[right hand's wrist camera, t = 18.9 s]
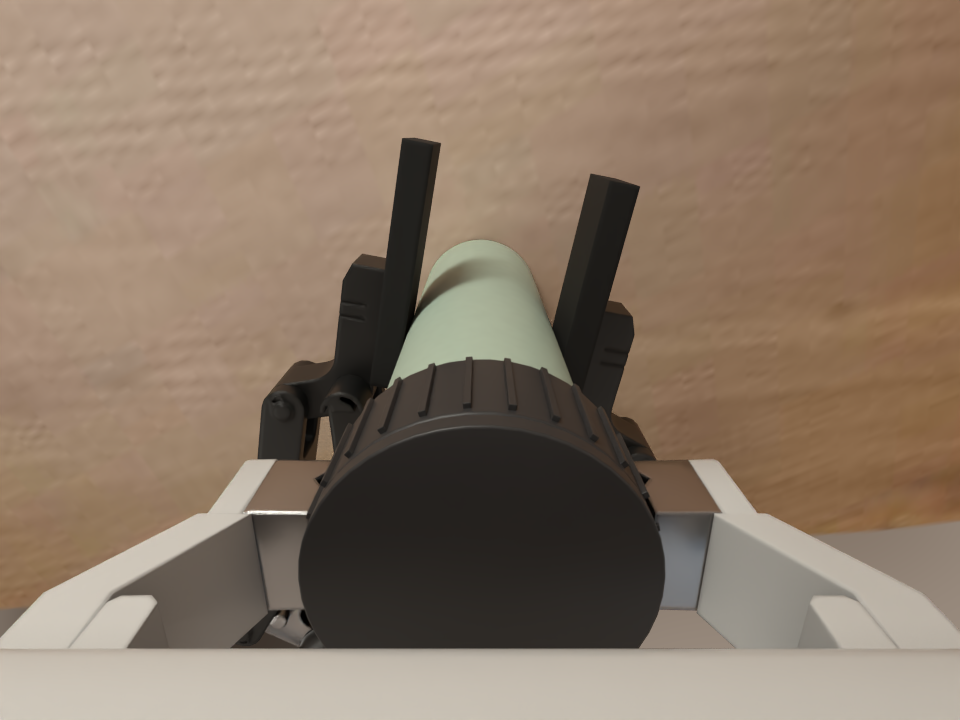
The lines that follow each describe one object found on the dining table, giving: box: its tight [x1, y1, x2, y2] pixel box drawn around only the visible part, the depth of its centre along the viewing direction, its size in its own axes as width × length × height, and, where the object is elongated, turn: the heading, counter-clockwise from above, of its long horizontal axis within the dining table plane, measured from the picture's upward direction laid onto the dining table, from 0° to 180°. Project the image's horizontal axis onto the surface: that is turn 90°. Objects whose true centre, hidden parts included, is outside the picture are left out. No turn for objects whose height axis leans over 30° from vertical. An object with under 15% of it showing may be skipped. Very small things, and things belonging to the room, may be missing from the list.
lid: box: [298, 357, 666, 649], centre depth 9 cm, size 5×5×2 cm
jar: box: [387, 240, 573, 389], centre depth 16 cm, size 4×4×15 cm
